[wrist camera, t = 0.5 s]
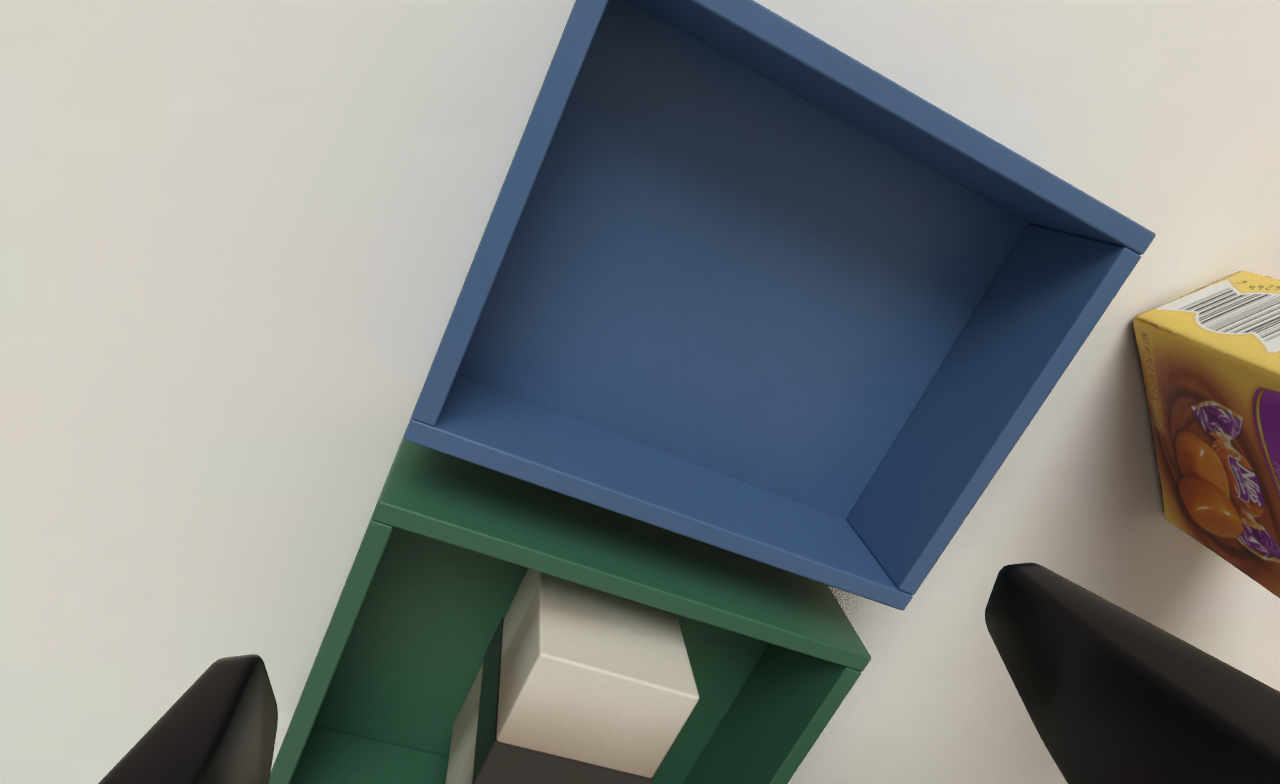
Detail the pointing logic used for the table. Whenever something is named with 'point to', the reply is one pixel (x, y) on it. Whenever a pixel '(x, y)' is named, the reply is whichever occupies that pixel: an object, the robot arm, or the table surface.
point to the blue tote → (764, 296)
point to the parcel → (574, 691)
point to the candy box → (1219, 417)
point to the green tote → (481, 596)
